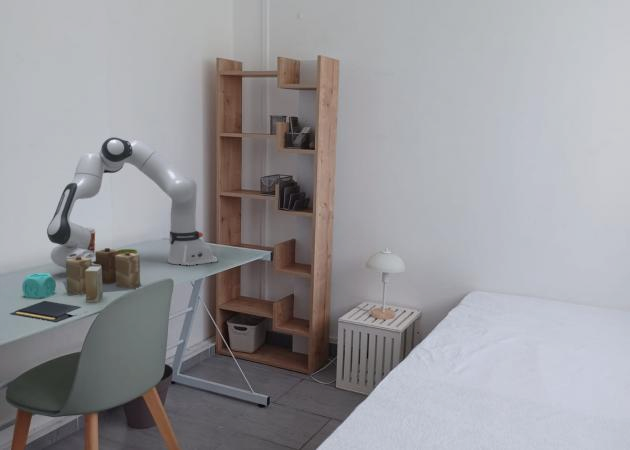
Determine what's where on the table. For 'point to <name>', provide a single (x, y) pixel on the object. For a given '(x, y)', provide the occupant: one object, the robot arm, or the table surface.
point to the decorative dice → (38, 285)
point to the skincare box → (93, 284)
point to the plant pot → (127, 251)
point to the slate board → (105, 288)
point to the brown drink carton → (107, 264)
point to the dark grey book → (47, 311)
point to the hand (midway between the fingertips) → (109, 265)
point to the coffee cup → (92, 245)
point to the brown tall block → (127, 270)
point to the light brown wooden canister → (77, 274)
